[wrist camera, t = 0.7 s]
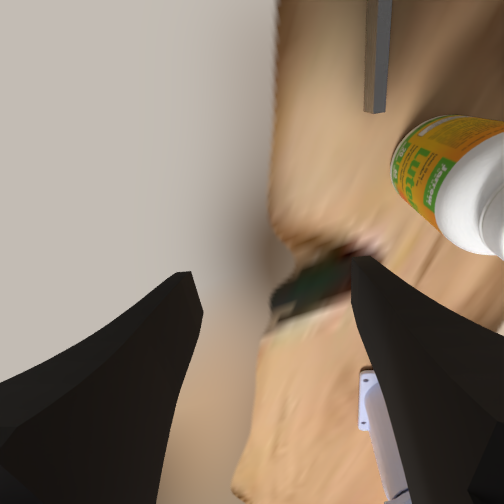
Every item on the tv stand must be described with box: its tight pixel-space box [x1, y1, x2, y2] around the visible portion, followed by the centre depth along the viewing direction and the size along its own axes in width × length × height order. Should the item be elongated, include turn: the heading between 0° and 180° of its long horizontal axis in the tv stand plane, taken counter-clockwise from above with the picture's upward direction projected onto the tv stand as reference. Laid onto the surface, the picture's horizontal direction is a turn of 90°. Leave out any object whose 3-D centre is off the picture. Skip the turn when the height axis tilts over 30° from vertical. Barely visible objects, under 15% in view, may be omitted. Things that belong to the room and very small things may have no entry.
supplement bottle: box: [390, 115, 504, 261], centre depth 14 cm, size 5×5×10 cm
